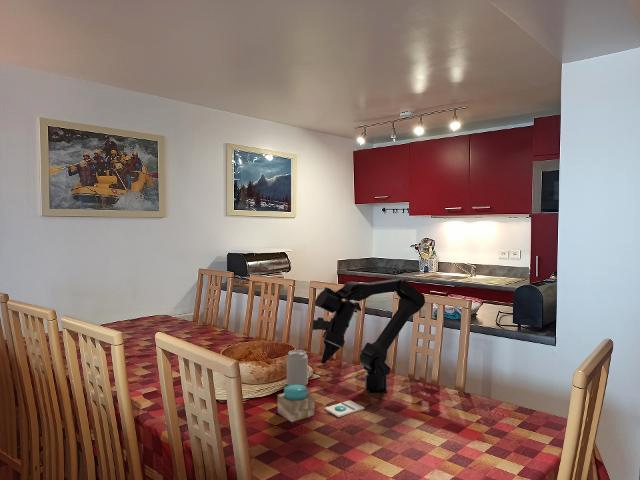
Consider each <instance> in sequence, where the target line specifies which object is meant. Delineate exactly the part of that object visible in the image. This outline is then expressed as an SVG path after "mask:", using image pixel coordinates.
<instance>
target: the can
mask: <svg viewBox="0 0 640 480" xmlns="http://www.w3.org/2000/svg"><path fill="white" fill-rule="evenodd" d="M308 360H309V359H308V355H307V352H306V351H305V350H302V349H293V350H290V351H288V354H287V356H286V384H287V386H290V385H303V386H306V387H307V384H308V383H309V374H308V373H309V368H308V367H309V364H308V363H309V361H308Z"/></svg>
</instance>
